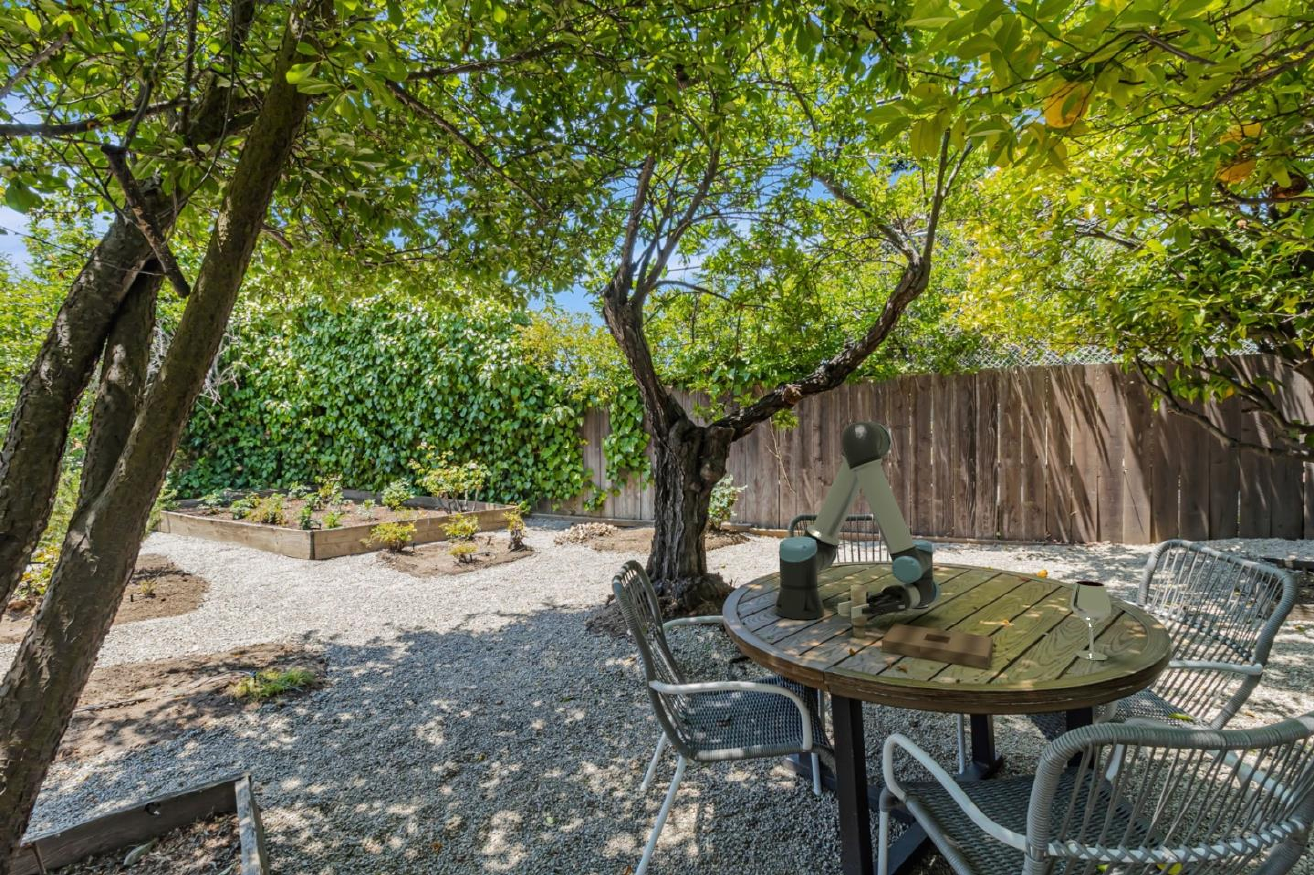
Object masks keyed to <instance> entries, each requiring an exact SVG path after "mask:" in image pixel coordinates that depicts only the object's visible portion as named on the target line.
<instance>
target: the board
mask: <svg viewBox="0 0 1314 875" xmlns="http://www.w3.org/2000/svg"><path fill="white" fill-rule="evenodd" d="M993 638H994V637H993V636H986V635H979V634H974V633H968V632H967V633H966V632H958V631H952V630H945V629H937V628H930V627H923V626H918V625H912V624H911V625H910V624H902V623H897V622H895V623H894V624H893V625H892V626H891V627H890V629H889V630H888V631H887V632H886V634H885V635H884V636H883V638H882V639H881V652H884V653H889V654H895V655H901V656H906V657H911V658H918V659H924V660H930V661H931V660H932V661H934V662H935V661H936V662H941V663H948V664H952V665H959V666H960V665H961V666H965V667H971V668H978V669H982V670H989V667H990V662H991V659H992V654H993V650H994V641H993V640H994V639H993Z"/></svg>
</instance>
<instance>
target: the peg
mask: <svg viewBox="0 0 1314 875" xmlns="http://www.w3.org/2000/svg"><path fill="white" fill-rule="evenodd" d="M866 592H867V586H866V585H863V584H858V583H857V584H856V583H855V584H851V585H850V597H851V608H852V607H856V606H860V605H864V604H866ZM867 616H868V615H864V616H860V617H857V618H851V622H850V625H851V627H852V632H853V633H852V634H853V637H854V638H855V637H856V639H866V628H868V622H867V620H868V619H867Z"/></svg>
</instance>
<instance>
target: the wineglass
mask: <svg viewBox="0 0 1314 875" xmlns="http://www.w3.org/2000/svg"><path fill="white" fill-rule="evenodd" d="M1070 608H1071V609H1072V610H1071V611H1072V612H1073V613H1074V614H1075V615H1076V616H1077V617H1078V618H1079V619H1081V620H1082V621H1083V622H1084V623H1085V624H1086V625H1087V627H1088V629H1089V630H1088V631H1089V632H1088V638H1089V650H1078V651H1076V652H1075V654H1076V656H1078V657H1079V658H1082V659H1085V660H1089V659H1090V660H1089V661H1095V660H1104V657H1108V656H1107V655H1105V654H1104V653H1100V652H1096V651H1095V647H1094V628H1095V626H1096V625H1098V624H1099V623H1101V622H1103V621H1105V620H1106V619H1107V618H1108V617H1109V616H1110V615H1111V612H1112V604H1111V601H1110V597H1109V594H1108V592H1107V589H1106V585H1105V584H1104V583H1101V582H1099V581H1098V582H1097V581H1092V580H1091V581H1090V580H1080V581H1079V580H1078V581H1075V584H1074V587H1073V590H1072V594H1071V597H1070Z"/></svg>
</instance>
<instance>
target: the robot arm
mask: <svg viewBox="0 0 1314 875" xmlns="http://www.w3.org/2000/svg"><path fill="white" fill-rule="evenodd" d="M891 446H892V438H891V434H890V432H889V431H888V429H887V428H886V427H885V426H883V425H882V424H880V423H877V422H874V421H856V422H853V423H850V424H848V425H847V427H846V428H844V430H843V431H842V434H841V435H840V447H841V448H840V449H841V450H842V451H841V453H840V454H841V455H840V456H841V458H842V462H841V466H840V468H839V469H838V471H837V473H836V475H835V478H834V481H833V482H832V484H831V486H830V488H829V491H828V493H827V495H826V497H825V499H824V500H823V504H822V505H821V507H820V509H819V511H818V514H817V516H816V517H815V520H814V523H813V524H811V525H808V526H807V527H806V528H805V531H804V532H803V535H802V536H793V537H787V538H785V539H783V540H782V541H781V542H780V543H779V550H778V556H779V558H778V559H779V584H780V585H779V592H778V594H777V598H776V602H775V604H774V612H776V613H775V615H777V614H778V615H777V616H778V617H781V616H783V617H782V618H784V617H787V618H786V619H789V618H792V619H791V620H796V619H801V620H800V621H806V619H811V620H815V619H814V618H817V619H819V618H818V617H820V618H822V617H824V615H825V607H824V604H823V603H824V602H823V601H822V598H821V595H820V592H819V590H818V589H819V588H818V587H819V586H818V573H821V572H822V571H825V570H827V569H828V568H830V567H831V566H832V565H833V564H834V562H835V560H836V558H837V553H838V550H837V549H838V547H839V545H840V543H841V542H840V539H839V534H840V532H841V530H842V528H843V526H844V524H845V522H846V520H847V519H848V515H849V514H850V512H851V510H852V508H853V506H854V504H855V501H856V500H857V497H858V496H859V493H860V491H862V492H863V495H864V496H865V499H866V502H867V505H868V507H869V509H870V511H871V514H872V516H873V519H874V521H875V524H876V526H877V529H878V530H879V533H880V536H881V538H882V540H883V542H884V545H885V548H886V550H887V552H888V555H889V556H890V559H891V562H892V564H891V572H892V573H891V574H892V575H893V577H894V578H895V580H897V581H898V582H900V583H896V584H893V585H888V586H885V587H884V588H883V589H882V591H881V592H878V593H876V594H870V592H869V591H866V604H864V605H860V606H856V607H852V608H851V596H849V597H848V598H847V601H844V602H840V603H837V614H839V615H842V614H846V613H850V612H851V613H850V615H851V616H850V617H851V619H852V618H857V617H860V616H864V615H867V616H868V615H876V614H877V616H880V617H881V616H885V615H889V614H894V613H898V612H906V611H907V612H908V611H909V610H911V609H915V608H918V607H922V606H928V605H930V604H933V603H935V602H937V601H938V600H939V599H940V597H941V594H942V593H941V592H942V589H941V587H940V585H939V583H938V581H936V580H935V579H934V566H933V564H934V563H933V562H934V561H933V560H934V558H933V554H934V551H933V544H932V543H931V542H930V541H929V540H924V539H913V537H912V535H911V533H910V530H909V528H908V526H907V523H906V521H905V519H904V517H903V514H902V511H901V509H900V507H899V504H898V503H897V499H896V497H895V496H894V492H893V491H892V488H891V486H890V484H889V481H888V479H887V477H886V475H885V471H884V469H883V467H882V462H883V458H882V457H884V456H886V455H887V453H888V452H889V451H890V448H891ZM821 616H822V617H821ZM802 619H803V620H802ZM804 619H805V620H804Z"/></svg>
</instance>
